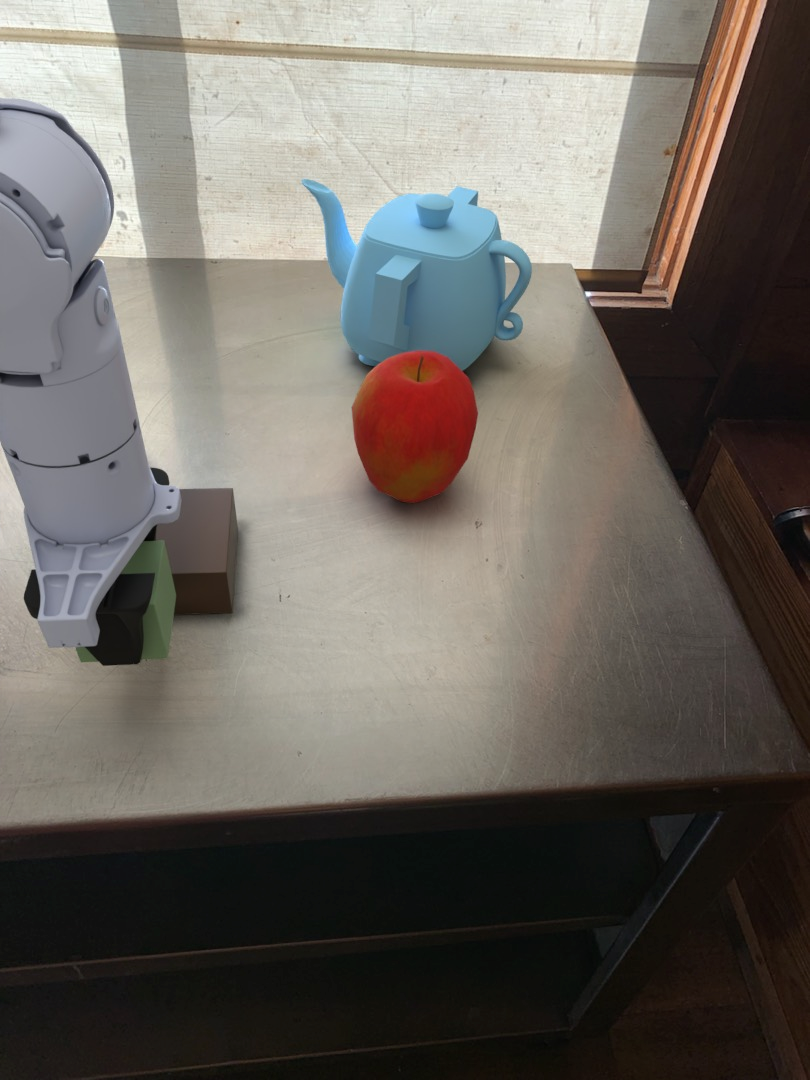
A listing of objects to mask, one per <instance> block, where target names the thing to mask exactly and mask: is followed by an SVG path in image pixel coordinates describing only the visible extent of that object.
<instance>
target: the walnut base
mask: <svg viewBox="0 0 810 1080" xmlns="http://www.w3.org/2000/svg"><path fill="white" fill-rule="evenodd" d="M179 490H180V495H181V500H182V501H181V508H180V515H179V517H178V519H177V520H176V521H174V522H171V523H161V524H157V530H156V541H164V542H165V546H166V550H167V555H168V560H169V564H170V569H171V574H172V578H173V583H174V587H175V592H176V601H175V609H174V616H179V615H204V614H206V615H207V614H209V615H210V614H231V613H233V609H234V595H235V594H234V593H235V581H236V580H235V578H236V565H237V562H236V561H237V548H238V535H239V533H238V531H239V530H238V529H239V526H238V519H237V510H236V502H235V501H236V500H235V493H234V488H233V487H200V488H199V487H198V488H196V487H195V488H179Z"/></svg>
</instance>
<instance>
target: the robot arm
mask: <svg viewBox="0 0 810 1080" xmlns="http://www.w3.org/2000/svg"><path fill="white" fill-rule="evenodd" d="M114 213H115V197H114V191H113V186H112V182H111V179H110V176H109V174H108V171H107V169H106V168H105V166H104V163H103V162H102V160H101V159H100V157H99V156H98V153H96V151H95V150H94V148H92V146H91V145H90V143H88V141H86V139H85V138H84V137H83V136H82V135H81V134H79V133H78V132H77V131H76V130H75V129H74V127H73V126H72V124H71V123H70V122H69V120H68V119H67V118H66V116H64V115H63V114H62V113H61V112H59V111H57V110H55V109H53V108H51V107H49V106H46V105H44V104H42V103H40V102H39V103H38V102H35V101H33V100H32V101H31V100H28V99H22V98H10V97H9V98H7V97H0V445H1V448H2V451H3V453H4V456H5V459H6V461H7V464H8V466H9V469H10V471H11V474H12V477H13V479H14V482H15V485H16V487H17V490H18V493H19V495H20V498H21V501H22V503H23V506H24V507H23V518H24V523H25V527H26V532H27V537H28V542H29V546H30V551H31V555H32V560H33V565H34V569H31V570H30V573H29V577H28V580H27V583H26V587H25V589H24V592H23V602H24V604H25V606H26V609H27V610H28V612H29V615H30V616H31V618H33V619H35V620H36V621H37V623H38V626H39V628H40V630H41V633H42V635H43V637H44V639H45V643H46V645H47V647H48V648H49V649H55V648H56V649H59V648H62V649H63V648H64V649H68V648H69V649H73V648H75V647H85V648H86V649H87V650H88V651H89V652H90V653H91V654H92V655H93V656H94V657H95V658H96V660H97V661H98V662H97V663H99V664H100V665H101V666H102V667H111V666H113V667H115V666H135V665H136V666H137V665H139V664H140V663H141V661H142V660H141V657H142V651H143V642H144V634H143V615H144V614H145V613H146V611H147V608H148V606H149V603H150V600H151V596H152V590H153V584H154V578H155V573H132V574H120V573H121V572H122V570H123V569H124V567H125V566H126V564H127V563H128V562H129V560H130V559H131V557H132V556H133V554H134V553H135V552H136V550H137V549H138V547H139V546H140V544H141V543H142V542H143V541H156V530H157V524H161V523H171V522H174V521H176V520H177V519H178V517H179V515H180V508H181V501H182V500H181V495H180V490H179V489H180V488H179V487H177V486H175V485H171V484H170V478H169V475H168V473H167V472H166V471H165V470H163V469H162V468H158V467H150V464H149V460H148V456H147V452H146V446H145V442H144V436H143V432H142V427H141V424H140V419H139V414H138V410H137V405H136V400H135V395H134V391H133V386H132V381H131V378H130V372H129V367H128V364H127V359H126V355H125V349H124V345H123V340H122V335H121V330H120V326H119V322H118V319H117V316H116V313H115V307H114V302H113V298H112V294H111V289H110V283H109V280H108V276H107V269H106V266H105V263H104V261H103V260H102V259H100V258H95V259H93V258H94V257H95V256H96V254H97V253H98V251H99V250H100V248H101V247H102V245H103V244H104V242H105V240H106V239H107V236H108V234H109V230H110V228H111V225H112V223H113V219H114Z"/></svg>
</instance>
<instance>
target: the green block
mask: <svg viewBox="0 0 810 1080" xmlns="http://www.w3.org/2000/svg"><path fill="white" fill-rule="evenodd" d="M132 573H155V578H154V584H153V590H152V596H151V600H150V603H149V606H148V608H147V611H146V613H145V614H144V615H143V634H144V642H143V651H142V657H141V661H144V660H145V661H146V660H167V659H168V658H169V655H170V647H171V639H172V631H173V623H174V616H175V615H174V609H175V601H176V592H175V587H174V583H173V578H172V574H171V569H170V564H169V560H168V555H167V550H166V546H165V542H164V541H143V542H142V543H141V544H140V546H139V547H138V549H137V550H136V552H135V553H134V554H133V556H132V557H131V559H130V560H129V562H128V563H127V564H126V566H125V567H124V569H123V570H122V572H121V573H120V574H132ZM74 649H75V651H76V655H77V656H78V659H79V662H80V663H99V662H98V661H97V660H96V658H95V657H94V656H93V655H92V654H91V653H90V652H89V651H88V650H87V649H86V648H85V647H74Z"/></svg>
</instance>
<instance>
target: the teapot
mask: <svg viewBox="0 0 810 1080" xmlns="http://www.w3.org/2000/svg"><path fill="white" fill-rule="evenodd" d="M301 184H302V185H303V187H304V188H305V189H307V190H308V192H309V193H310V194H311V195H312V197H314V199H315V200H316V202H317V204H318V206H319V208H320V211H321V216H322V220H323V225H324V237H325V238H324V239H325V240H324V241H325V252H326V253H325V254H326V259H327V264H328V267H329V269H330V271H331V274H332V275H333V277H334V279H335V280H336V281H337V283H338V284H339V285H340V286H341V287H342V288H343V294H342V300H341V308H340V327H341V332H342V334H343V336H344V338H345V340H346V342H347V344H348V345H349V347H350V349H351V350H352V351H353V352H354V353H355V354H357V355H358V360H359V361H360V362H361V363H362V364H364V365H367V366H370V367H371V366H372V367H376V366H377V365H378V364H379V363H381V362H383V361H384V360H386V359H387V358H389V357H392V356H395V355H398V354H401V353H405V352H412V351H434V352H437V353H439V354H442V355H444V356H446V357H448V358H449V359H450V360H451V361H452V362H453V363H454V364H455V365H456V366H457V367H458V368H459V369H460V370H461V371H462V372H464V371H465V370H466V369H467V368H469V367H470V366H471V365H472V364H473V363H474V362H475V361H476V360H477V359H478V358H479V357H480V356H481V355H482V354H483V352H484V351H485V350H486V349H487V348H488V346H489V345H490V343H491V342H492V341H493V339H494V338H496V339H497V340H500V341H513V340H516V339H517V338H518V337H519V336H520V335H521V334H522V331H523V328H524V321H523V318H522V316H521V315H520V314H518V313H517V312H513V311H512V310H513V309H514V308H515V306H516V305H517V303H518V302H519V301H520V299H521V298H522V297H523V295H524V293H525V292H526V290H527V289H528V286H529V285H530V282H531V279H532V273H533V267H532V262H531V259H530V257H529V256H528V254H527V253H526V252H525V250H524V249H523V248H522V247H521V246H520V245H518V244H516V243H514V242H512V241H509V240H505V239H502V233H501V227H500V224H499V220H498V216H497V214H496V213H494V212H493V211H492V210H491V209H488V208H485V207H482V206H481V207H480V206H478V202H479V190H475V189H471V188H467V187H462V186H458V185H456V186H455V187H454V188H453V189H452V190H451V192H450V193H449V194H448V195H444V194H441V193H434V192H433V193H424V194H421V193H405V194H403V195H399V196H397V197H395V198H393V199H391V200H390V201H388V202H387V203H385V204H384V205H382V207H380V208H379V209H377V211H376V212H375V213H374V214H373V215H372V216H371V217H370V219H369V220H368V221H367V223H366V225H365V227H364V229H363V231H362V233H361V236H360V238H359V239H358V243H357V244H356V242H355V241H354V240H353V238H352V235H351V233H350V231H349V228H348V225H347V220H346V217H345V213H344V210H343V205H342V204H341V201H340V199H339V198H338V197H337V195H336V194H335V192H334V191H332V189H330V188H329V187H328V186H327V185H325V184H323V183H320V182H318V181H316V180H312V179H309V178H302V179H301ZM505 258H508V259H509V260H511V261H512V262H514V264H515V265H516V266H517V268H518V270H519V271H518V272H519V274H518V277H517V280H516V283H515V285H514V286H513V287H512V290H511V291H510V292H509V294H508V295H507V297H506V291H507V288H506V287H507V274H506V273H507V272H506V259H505ZM511 311H512V312H511ZM505 321H507V322H510V323H511V324H512V326H511V327H507V326H505V324H504V323H505Z"/></svg>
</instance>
